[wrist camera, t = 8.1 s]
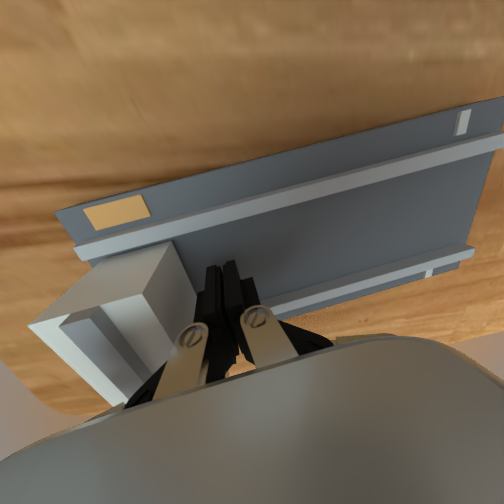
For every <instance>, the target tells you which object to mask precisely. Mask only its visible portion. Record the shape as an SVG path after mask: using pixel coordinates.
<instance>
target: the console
mask: <svg viewBox="0 0 504 504" xmlns="http://www.w3.org/2000/svg"><path fill="white" fill-rule="evenodd" d="M503 121H504V96H502V97H497V98H493V99H488V100H484V101H479V102H474V103H470V104H466V105H462V106H458V107H455V108H451V109H447V110H443V111H439V112H435V113H431V114H427V115H423V116H419V117H416V118H412V119H408V120H404V121H400V122H396V123H392V124H388V125H384V126H380V127H377V128H373V129H369V130H365V131H361V132H357V133H353V134H349V135H345V136H341V137H338V138H334V139H330V140H326V141H322V142H318V143H314V144H310V145H306V146H302V147H299V148H295V149H291V150H287V151H283V152H279V153H275V154H271V155H267V156H264V157H260V158H256V159H252V160H248V161H244V162H240V163H236V164H232V165H228V166H225V167H221V168H217V169H213V170H209V171H205V172H201V173H197V174H193V175H189V176H186V177H182V178H178V179H174V180H170V181H166V182H162V183H158V184H154V185H150V186H147V187H143V188H139V189H135V190H131V191H127V192H123V193H119V194H115V195H111V196H108V197H104V198H100V199H96V200H92V201H88V202H84V203H80V204H77V205H74V206H71V207H68V208H65V209H62V210H58V211H55V212H54V214H55V215H56V217H57V218H58V219H59V221H60V222H61V224H62V225H63V226H64V228H65V229H66V231H67V232H68V233H69V235H70V236H71V238H72V239H73V241H74V242H75V243H76V245H77V246H75V247H74V248H73V249H74V251H75V252H76V254H77V255H78V256H79V258H80V259H81V260H82V261H85V260H88V262H89V263H90V265H91V266H92V267H94V266H96V265H97V264H98V263H99V262H100V261H101V260H102V259H105V258H109V257H112V256H116V255H120V254H124V253H127V252H131V251H135V250H138V249H142V248H146V247H150V246H153V245H157V244H161V243H164V242H168V241H172V243H173V245H174V247H175V250H176V252H177V254H178V256H179V258H180V261H181V263H182V265H183V267H184V269H185V272H186V274H187V276H188V278H189V280H190V283H191V285H192V287H193V289H194V291H195V294H196V296H197V294H198V292H200V291H203V290H204V288H205V278H206V268H207V267H209V266H212V265H217V267H218V266H220V267H221V269H222V272H223V265H225V264H226V262H227V261H230V260H234V259H235V262H236V265H237V269H238V272H239V275H240V278H241V280H242V279H246V278H249V277H253V280H254V283H255V286H256V290H257V293H258V296H259V300H260V303H261V305H264V306H267V307H268V308H270V309H271V311H272V312H273V314H274V315H275V317H276V319H277V320H280V321H281V320H285V319H288V318H291V317H295V316H298V315H301V314H305V313H308V312H312V311H315V310H318V309H322V308H325V307H329V306H332V305H335V304H339V303H342V302H345V301H349V300H352V299H356V298H359V297H362V296H366V295H369V294H373V293H376V292H379V291H383V290H386V289H390V288H393V287H396V286H400V285H403V284H406V283H410V282H413V281H417V280H420V279H423V278H427V277H431V276H434V275H437V274H440V273H444V272H447V271H450V270H454V269H457V268H458V267H459V264H460V261H461V260H464V259H467V258H471V257H473V254H474V251H475V247H472V246H469V245H466V241H467V238H468V234H469V231H470V228H471V225H472V222H473V218H474V215H475V212H476V209H477V205H478V202H479V199H480V196H481V192H482V189H483V186H484V183H485V179H486V176H487V173H488V170H489V167H490V163H491V160H492V157H493V154H494V150H497V149H501V148H504V131H503V132H500V131H501V128H502V124H503Z"/></svg>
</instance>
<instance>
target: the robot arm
mask: <svg viewBox="0 0 504 504" xmlns="http://www.w3.org/2000/svg"><path fill="white" fill-rule="evenodd" d="M238 344H239V346H238ZM239 347H240V350H241V352H242V354H244V356H245V359H246V360H247V361H249V362H251V363H252V364H254V365H255V366H256V369H254V370H251V371H247V372H244V373H241V374H238V375H234V376H231V377H229V372H228V370H229V368H230V367H231V366H232V365H233V364H236V356H237V355H239ZM0 504H504V380H502V379H501V378H499V377H498V376H497V375H495V374H494V373H492V372H491V371H489V370H488V369H486V368H485V367H484V366H482V365H480V364H479V363H478V362H476V361H475V360H473V359H472V358H470V357H468V356H466V355H465V354H463V353H461V352H460V351H458V350H456V349H454V348H452V347H450V346H448V345H446V344H443V343H440V342H437V341H434V340H430V339H425V338H419V337H409V336H396V335H393V334H388V333H380V334H367V335H354V336H342V337H336V340H329V339H327V338H325V337H323V336H321V335H318V334H315V333H313V332H310V331H307V330H304V329H302V328H299V327H296V326H293V325H291V324H288V323H285V322H282V321H280V320H277V319H276V317H275V315H274V314H273V312H272V311H271V309H270V308H268V307H267V306H264V305H261V303H260V300H259V296H258V293H257V290H256V286H255V283H254V280H253V277H249V278H246V279H242V280H241V278H240V275H239V272H238V269H237V265H236V262H235V259H234V260H230V261H227V262H226V264H225V265H223V272H222V269H221V267H220V266H218V267H217V265H212V266H209V267H207V268H206V278H205V288H204V290H203V291H200V292H198V294H197V300H196V307H195V313H194V320H193V324H190V325H189V326H187V327H185V328H184V329H183V330H182V331H181V332H180V333H179V334H178V336H177V338H176V340H175V343H174V345H173V348H172V350H171V353H170V356H169V358H168V360H167V361H166V362H165V363H164V364H163V365H162V366H161V367H160V368H159V369H158V370H157V371H156V372H155V373H154V374H153V375H152V376H151V377H150V378H149V379H148V380H147V381H146V382H145V383H144V384H143V385H142V386H141V387H140V388H139V389H138V390H137V391H136V392H135V393H134V394H133V395H132V396H131V398H130V399H129V400H128V402H127V404H125V403H124V402H122V403H120V404H118V405H116V406H114V407H112V408H110V409H109V410H107V411H105V412H103V413H101V414H99V415H97V416H95V417H93V418H91V419H90V420H88V421H86V422H84V423H82V424H79V425H76V426H74V427H71V428H68V429H65V430H63V431H60V432H58V433H55V434H52V435H50V436H48V437H45V438H43V439H41V440H39V441H37V442H34V443H32V444H30V445H28V446H26V447H24V448H23V449H21V450H19V451H17V452H15V453H13V454H11V455H10V456H8V457H7V458H5V459H3V460H2V461H0Z"/></svg>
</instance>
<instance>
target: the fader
mask: <svg viewBox="0 0 504 504" xmlns="http://www.w3.org/2000/svg"><path fill="white" fill-rule="evenodd" d="M196 300H197V296H196V294H195V291H194V289H193V287H192V285H191V283H190V280H189V278H188V276H187V274H186V272H185V269H184V267H183V265H182V263H181V261H180V258H179V256H178V254H177V252H176V250H175V247H174V245H173V243H172V241H168V242H164V243H161V244H157V245H153V246H150V247H146V248H142V249H138V250H135V251H131V252H127V253H124V254H120V255H116V256H112V257H109V258H105V259H102V260H101V261H100V262H99V263H98V264H97V265H96V266H94V267H93V268H92V269H91V270H90V271H89V272H88V273H86V274H85V275H84V276H83V277H82V278H81V279H80V280H78V281H77V282H76V283H75V284H74V285H73V286H72V287H70V288H69V289H68V290H67V291H66V292H65V293H64V294H63V295H61V296H60V297H59V298H58V299H57V300H56V301H55V302H53V303H52V304H51V305H50V306H49V307H48V308H47V309H45V310H44V311H43V312H42V313H41V314H40V315H39V316H38V317H36V318H35V319H34V320H33V321H32V322H31V323H30V324H28V325H27V326H28V327H29V328H30V329H31V330H32V331H33V332H34V333H35V334H36V335H37V336H38V337H40V338H41V339H42V340H43V341H44V342H45V343H46V344H47V345H48V346H49V347H50V348H51V349H52V350H53V351H54V352H56V353H57V354H58V355H59V356H60V357H61V358H62V359H63V360H64V361H65V362H66V363H67V364H68V365H69V366H70V367H71V368H73V369H74V370H75V371H76V372H77V373H78V374H79V375H80V376H81V377H82V378H83V379H84V380H85V381H86V382H87V383H89V384H90V385H91V386H92V387H93V388H94V389H95V390H96V391H97V392H98V393H99V394H100V395H101V396H102V397H103V398H104V399H106V400H107V401H108V402H109V403H110V404H111V405H112V406H113V407H114V406H116V405H118V404H120V403H122V402H124V403H125V404H127V402H128V400H129V399H130V398H131V396H132V395H133V394H134V393H135V392H136V391H137V390H138V389H139V388H140V387H141V386H142V385H143V384H144V383H145V382H146V381H147V380H148V379H149V378H150V377H151V376H152V375H153V374H154V373H155V372H156V371H157V370H158V369H159V368H160V367H161V366H162V365H163V364H164V363H165V362H166V361H167V360H168V358H169V356H170V353H171V350H172V348H173V345H174V343H175V340H176V338H177V336H178V334H179V333H180V332H181V331H182V330H183V329H184V328H185V327H187V326H189V325H190V324H193V320H194V313H195V307H196Z"/></svg>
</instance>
